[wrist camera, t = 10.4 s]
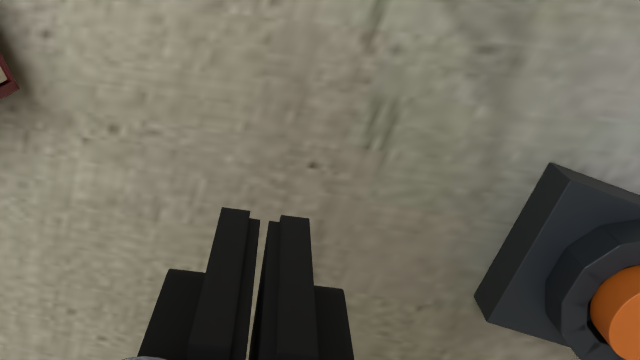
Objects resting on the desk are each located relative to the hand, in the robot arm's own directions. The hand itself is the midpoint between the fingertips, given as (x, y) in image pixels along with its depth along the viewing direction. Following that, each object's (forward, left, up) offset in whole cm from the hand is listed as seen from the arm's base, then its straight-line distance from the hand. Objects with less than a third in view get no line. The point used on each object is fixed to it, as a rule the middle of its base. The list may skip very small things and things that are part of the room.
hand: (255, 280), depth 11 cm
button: (-17, -8, -12) cm, 22 cm away
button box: (-17, -8, -15) cm, 24 cm away
